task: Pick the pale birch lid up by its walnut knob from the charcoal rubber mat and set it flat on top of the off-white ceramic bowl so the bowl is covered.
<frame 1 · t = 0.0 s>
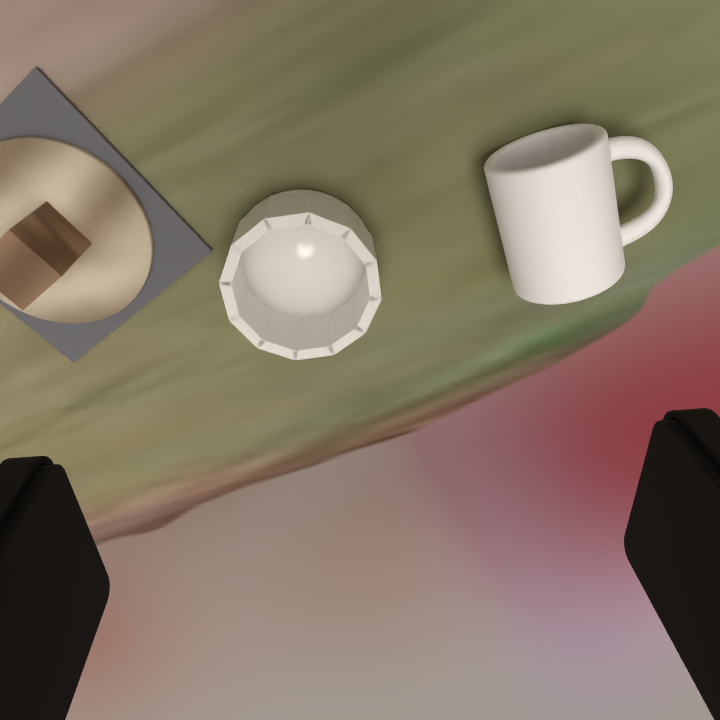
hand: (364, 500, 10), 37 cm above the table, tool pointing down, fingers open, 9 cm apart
lid: (38, 251, 42), on the mat
mat: (59, 232, 45), on the table
bowl: (303, 259, 47), on the table
mug: (563, 189, 45), on the table
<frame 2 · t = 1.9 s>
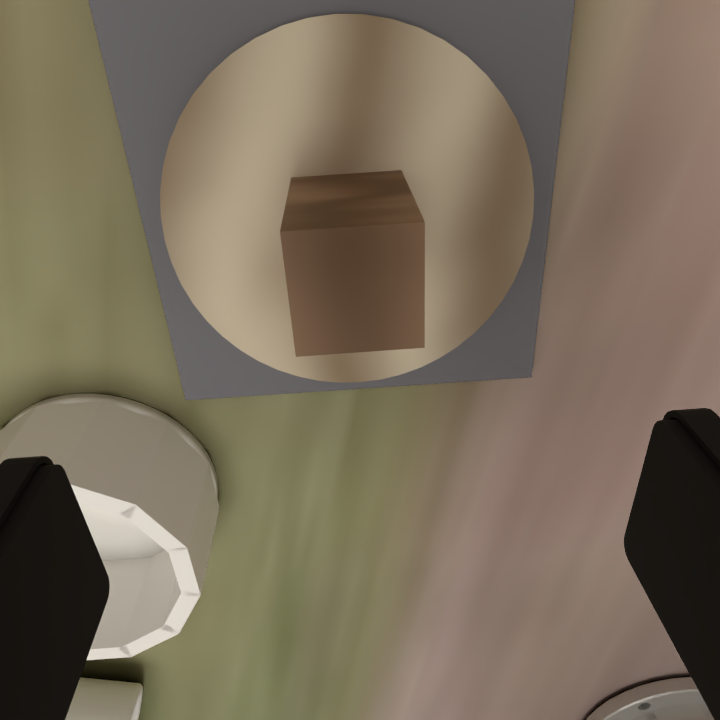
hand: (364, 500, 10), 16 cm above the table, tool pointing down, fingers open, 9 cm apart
lid: (352, 250, 20), on the mat
mat: (348, 216, 24), on the table
bowl: (108, 483, 30), on the table
mug: (66, 699, 40), on the table
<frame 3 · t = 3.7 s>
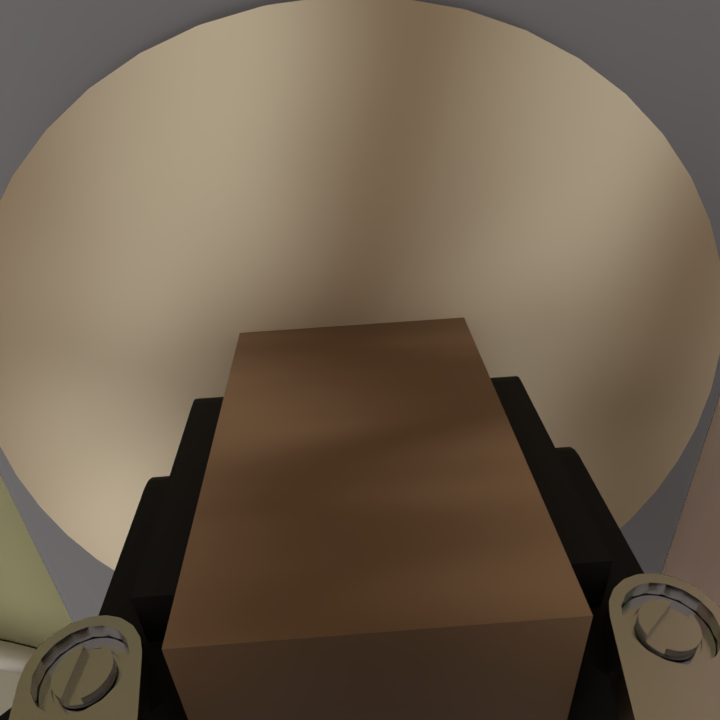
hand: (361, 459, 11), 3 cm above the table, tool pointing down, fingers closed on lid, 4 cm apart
lid: (365, 509, 10), on the mat, touching gripper
mat: (354, 375, 13), on the table
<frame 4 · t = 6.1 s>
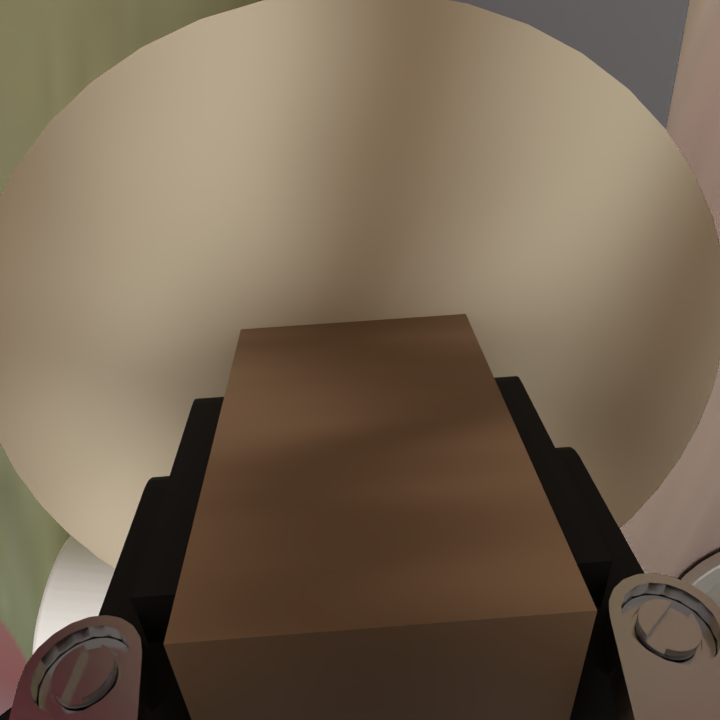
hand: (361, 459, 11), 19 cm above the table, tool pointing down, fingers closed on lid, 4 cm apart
lid: (367, 505, 10), point 20 cm above the table, touching gripper
mug: (160, 572, 40), on the table
when the fingers open (10 cm above the table, at t = 8.8 s): lid drops 1 cm, resting on bowl.
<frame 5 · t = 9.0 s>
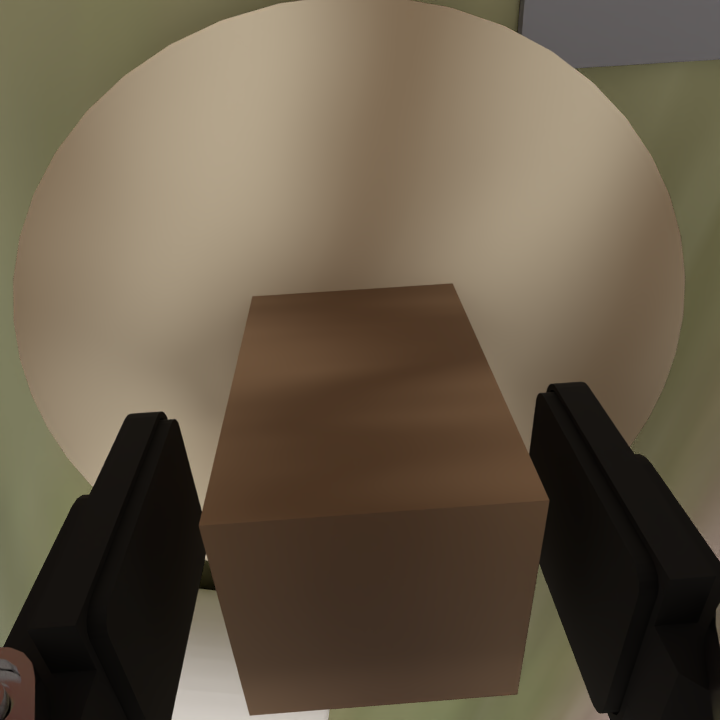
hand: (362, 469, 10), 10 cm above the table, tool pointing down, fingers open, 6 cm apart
lid: (364, 448, 11), on the bowl, point 10 cm above the table
mug: (204, 630, 29), on the table
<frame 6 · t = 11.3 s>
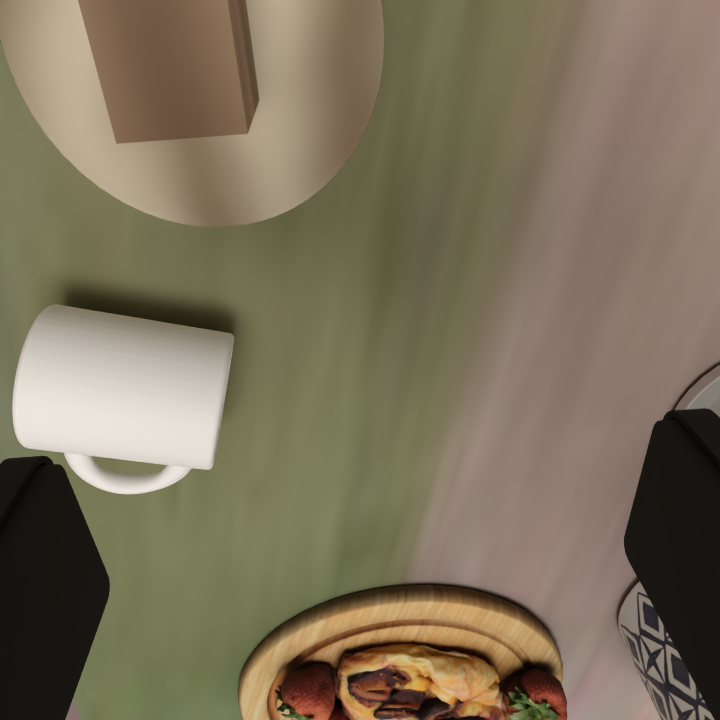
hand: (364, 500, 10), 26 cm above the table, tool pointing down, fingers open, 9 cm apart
lid: (186, 53, 20), on the bowl, point 10 cm above the table
mug: (148, 376, 38), on the table
planter: (709, 593, 56), on the table
wooden plate with food: (399, 677, 61), on the table
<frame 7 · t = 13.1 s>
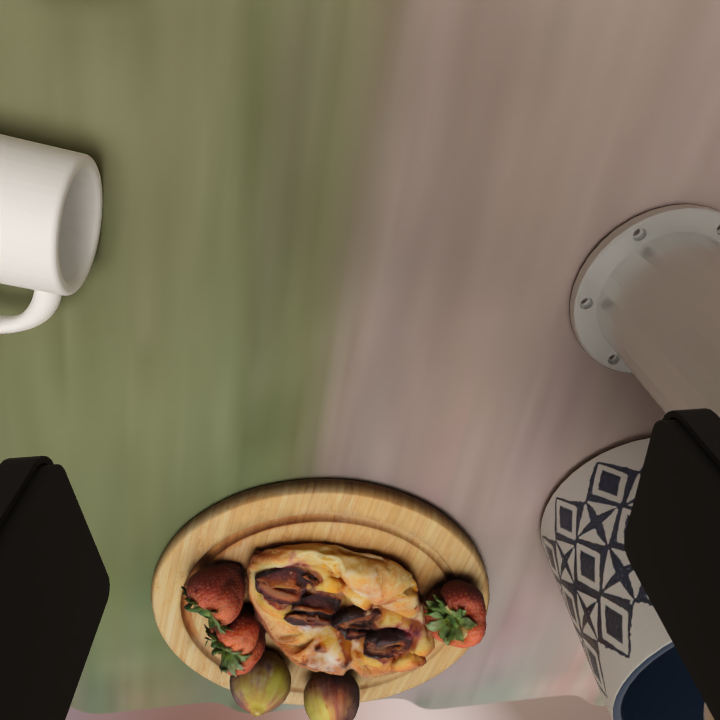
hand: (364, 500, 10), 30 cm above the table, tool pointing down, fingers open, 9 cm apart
mug: (20, 217, 37), on the table
planter: (636, 508, 54), on the table
wooden plate with food: (322, 592, 59), on the table
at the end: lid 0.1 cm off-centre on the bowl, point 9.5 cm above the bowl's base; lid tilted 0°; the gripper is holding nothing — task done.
